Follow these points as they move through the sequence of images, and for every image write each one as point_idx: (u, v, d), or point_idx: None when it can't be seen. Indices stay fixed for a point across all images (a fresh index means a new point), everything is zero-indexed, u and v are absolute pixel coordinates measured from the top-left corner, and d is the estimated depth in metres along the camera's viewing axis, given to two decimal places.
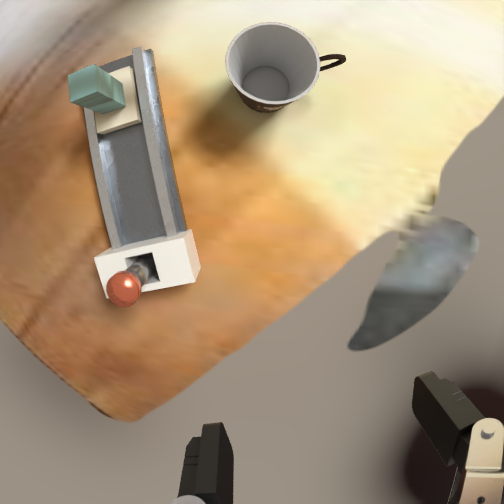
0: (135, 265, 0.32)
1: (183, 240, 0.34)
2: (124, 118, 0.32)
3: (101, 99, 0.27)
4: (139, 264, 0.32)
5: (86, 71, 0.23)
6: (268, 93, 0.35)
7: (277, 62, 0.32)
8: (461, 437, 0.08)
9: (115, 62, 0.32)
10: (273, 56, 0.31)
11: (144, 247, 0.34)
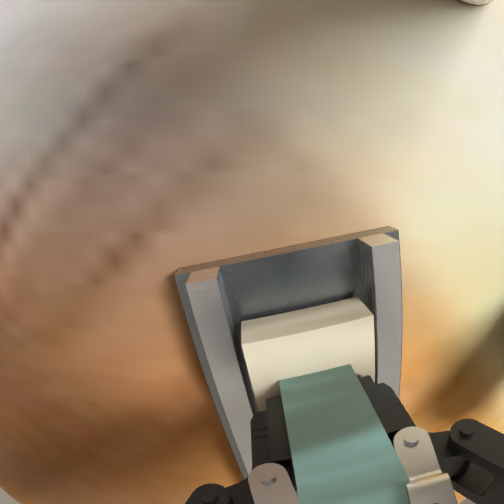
0: None
1: None
2: None
3: None
4: None
5: None
6: None
7: None
8: None
9: (295, 257, 0.13)
10: None
11: None
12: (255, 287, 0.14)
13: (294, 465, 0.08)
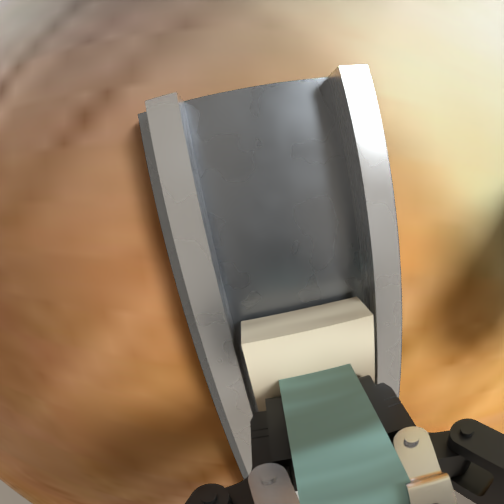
0: None
1: None
2: None
3: None
4: None
5: None
6: None
7: None
8: None
9: (263, 91, 0.12)
10: None
11: None
12: (220, 121, 0.12)
13: (294, 465, 0.08)
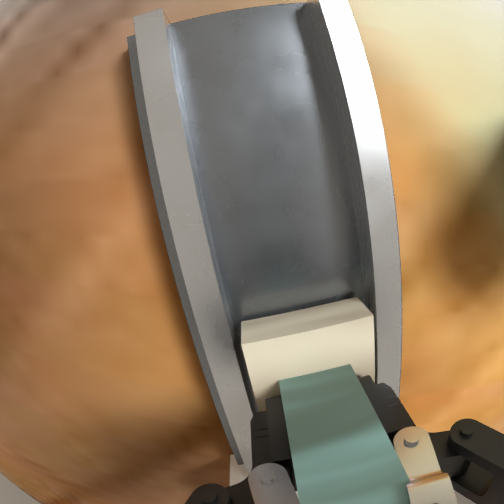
0: None
1: None
2: None
3: None
4: None
5: None
6: None
7: None
8: None
9: (244, 13, 0.11)
10: None
11: None
12: (204, 38, 0.11)
13: (293, 465, 0.08)
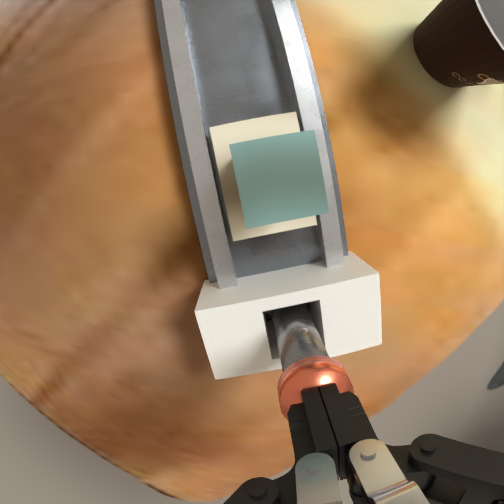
0: (305, 330, 0.16)
1: (377, 277, 0.18)
2: (291, 219, 0.19)
3: None
4: (308, 326, 0.17)
5: (291, 146, 0.11)
6: None
7: None
8: (345, 454, 0.09)
9: None
10: None
11: (306, 291, 0.18)
12: None
13: None
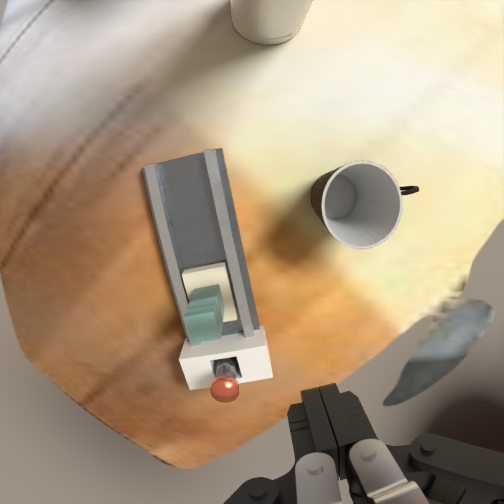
0: (226, 363, 0.38)
1: (265, 347, 0.38)
2: (224, 317, 0.39)
3: None
4: (229, 361, 0.38)
5: (205, 317, 0.30)
6: (337, 202, 0.40)
7: (350, 176, 0.37)
8: (346, 454, 0.09)
9: (182, 159, 0.37)
10: (349, 173, 0.35)
11: (229, 352, 0.38)
12: (169, 170, 0.37)
13: (189, 303, 0.34)
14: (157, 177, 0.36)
